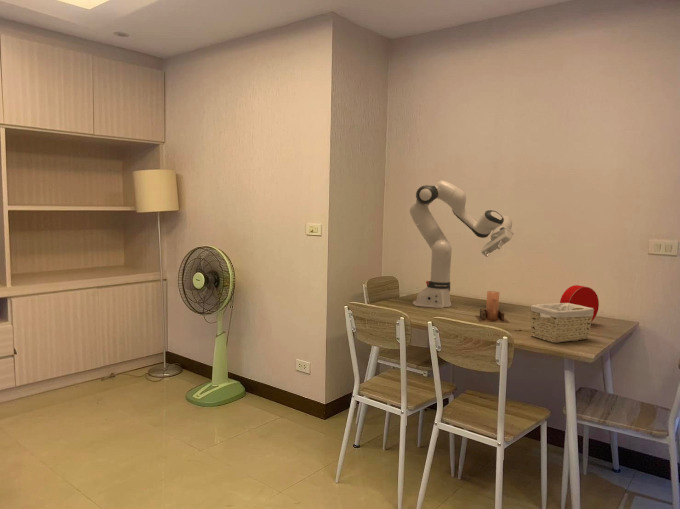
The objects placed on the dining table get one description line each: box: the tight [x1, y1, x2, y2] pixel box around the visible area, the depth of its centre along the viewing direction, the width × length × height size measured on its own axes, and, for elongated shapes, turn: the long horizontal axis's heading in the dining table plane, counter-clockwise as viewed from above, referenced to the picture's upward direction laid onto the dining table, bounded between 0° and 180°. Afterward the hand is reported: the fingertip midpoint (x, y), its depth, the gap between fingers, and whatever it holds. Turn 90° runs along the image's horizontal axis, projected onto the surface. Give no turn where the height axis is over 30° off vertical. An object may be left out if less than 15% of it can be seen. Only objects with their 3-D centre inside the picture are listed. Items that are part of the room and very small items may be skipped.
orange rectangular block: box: [485, 290, 500, 320], centre depth 265 cm, size 6×8×14 cm
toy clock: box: [559, 284, 600, 323], centre depth 263 cm, size 20×6×20 cm, turn 111°
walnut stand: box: [474, 308, 511, 324], centre depth 267 cm, size 15×15×5 cm
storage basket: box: [530, 302, 594, 344], centre depth 236 cm, size 24×16×15 cm
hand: (492, 252), depth 284 cm, fingers open, 8 cm apart
